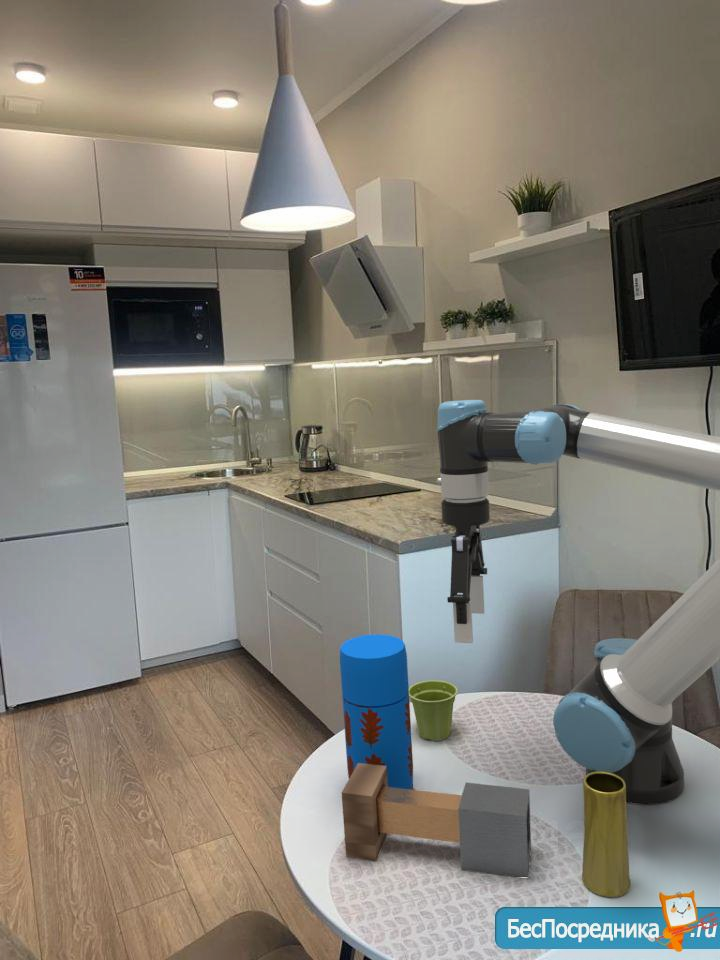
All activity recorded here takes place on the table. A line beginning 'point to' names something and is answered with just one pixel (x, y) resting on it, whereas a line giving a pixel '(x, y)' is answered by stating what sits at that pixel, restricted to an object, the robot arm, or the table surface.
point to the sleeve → (495, 830)
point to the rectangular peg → (418, 814)
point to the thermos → (377, 706)
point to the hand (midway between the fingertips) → (470, 626)
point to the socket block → (363, 811)
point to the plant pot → (433, 708)
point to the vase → (605, 835)
